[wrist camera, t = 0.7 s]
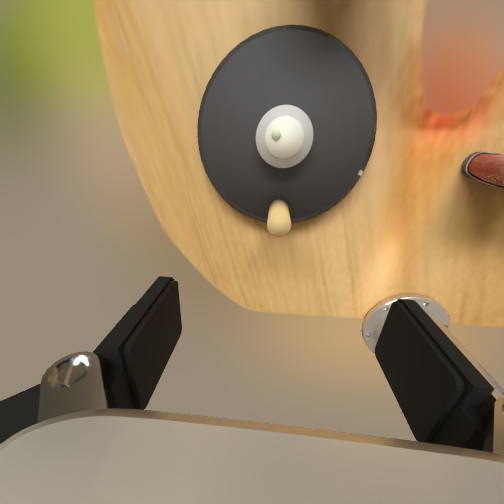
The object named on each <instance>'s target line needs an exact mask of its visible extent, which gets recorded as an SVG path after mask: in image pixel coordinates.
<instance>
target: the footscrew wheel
mask: <svg viewBox="0 0 504 504" xmlns="http://www.w3.org/2000/svg"><path fill="white" fill-rule="evenodd" d="M372 130H373V109H372V101H371V96H370V92H369V88H368V86H367V83H366V81H365V78H364V76H363V74H362V72H361V71H360V69H359V67H358V65H357V64H356V63H355V61H354V60H353V59H352V58H351V56H350V55H349V54H348V53H347V52H346V51H345V50H344V49H342V48H341V47H340V46H339V45H338V44H336V43H334V42H333V41H331V40H330V39H328V38H326V37H324V36H321V35H319V34H317V33H313V32H308V31H304V30H282V31H276V32H272V33H268V34H265V35H263V36H261V37H258V38H256V39H254V40H252V41H251V42H249V43H248V44H246V45H244V46H243V47H242V48H240V49H239V50H238V51H237V52H236V53H235V54H233V55H232V56H231V57H230V59H229V60H228V61H227V62H226V63H225V64H224V65H223V67H222V68H221V70H220V71H219V73H218V74H217V76H216V77H215V79H214V81H213V83H212V85H211V87H210V90H209V92H208V95H207V98H206V101H205V105H204V109H203V115H202V124H201V138H202V147H203V152H204V156H205V160H206V163H207V166H208V169H209V171H210V173H211V175H212V177H213V179H214V181H215V182H216V184H217V185H218V187H219V188H220V190H221V191H222V192H223V193H224V194H225V195H226V197H228V198H229V199H230V200H231V201H232V202H233V203H234V204H236V205H237V206H238V207H240V208H241V209H243V210H245V211H247V212H248V213H250V214H253V215H256V216H258V217H262V218H266V219H268V220H267V229H268V231H269V232H270V233H271V234H272V235H274V236H277V237H280V236H284V235H286V234H287V233H288V232H289V231H290V229H291V220H292V219H299V218H302V217H306V216H309V215H311V214H314V213H316V212H318V211H320V210H322V209H324V208H326V207H327V206H329V205H330V204H331V203H333V202H334V201H335V200H336V199H338V198H339V197H340V196H341V195H342V194H343V193H344V192H345V191H346V190H347V188H348V187H349V186H350V185H351V184H352V182H353V181H354V179H355V178H356V176H357V175H358V173H359V171H360V169H361V168H362V166H363V164H364V161H365V159H366V156H367V154H368V150H369V146H370V143H371V137H372Z"/></svg>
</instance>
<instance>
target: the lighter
mask: <svg viewBox="0 0 504 504" xmlns="http://www.w3.org/2000/svg"><path fill="white" fill-rule="evenodd" d="M461 171H462V173H463V174H464V175H466V176H468V177H469V178H471V179H473V180H475V181H478V182H480V183H483V184H485V185H490V186H495V187H500V188H504V154H499V153H487V152H475V153H472V154H470V155H469V156H467V157H466V158H465V160H464V161H463V163H462V165H461Z"/></svg>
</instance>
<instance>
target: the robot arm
mask: <svg viewBox="0 0 504 504" xmlns="http://www.w3.org/2000/svg"><path fill="white" fill-rule="evenodd" d="M449 329H450V320H449V316H448V314H447V312H446V311H445V309H444V308H443V307H442V306H441V305H440V304H439V303H437V302H436V301H435V300H433V299H431V298H429V297H426V296H422V295H415V294H406V295H399V296H394V297H391V298H389V299H386V300H384V301H382V302H380V303H379V304H377V305H376V306H375V307H373V308H372V309H371V310H370V311H369V313H368V314H367V315H366V317H365V319H364V321H363V324H362V336H363V338H364V341H365V343H366V345H367V346H368V348H369V349H370V350H371V351H372V352H374V353H375V355H376V358H377V360H378V362H379V364H380V366H381V368H382V370H383V372H384V374H385V377H386V379H387V381H388V382H389V385H390V387H391V389H392V391H393V393H394V395H395V397H396V399H397V401H398V403H399V406H400V408H401V409H402V412H403V414H404V416H405V418H406V420H407V422H408V424H409V426H410V428H411V430H412V433H413V435H414V437H415V438H416V440H417V441H418V442H417V441H409V440H401V439H392V438H385V437H376V436H369V435H361V434H352V433H345V432H336V431H327V430H320V429H311V428H303V427H295V426H286V425H277V424H269V423H261V422H252V421H244V420H235V419H226V418H217V417H208V416H200V415H191V414H182V413H171V412H160V411H150V410H144V409H145V407H146V406H147V404H148V402H149V400H150V398H151V396H152V394H153V392H154V390H155V388H156V386H157V383H158V381H159V379H160V377H161V375H162V373H163V371H164V369H165V367H166V365H167V362H168V360H169V358H170V356H171V354H172V352H173V350H174V348H175V346H176V343H177V341H178V339H179V337H180V335H181V331H182V324H181V314H180V303H179V291H178V282H177V281H174V279H173V278H172V277H162V276H160V277H158V278H157V279H156V281H155V282H154V283H153V284H152V286H151V287H150V288H149V289H148V290H147V291H146V293H145V294H144V295H143V296H142V297H141V298H140V300H139V301H138V302H137V303H136V304H135V305H133V306H132V307H131V308H130V310H128V312H127V313H126V314H125V315H124V316H123V318H122V319H121V320H120V321H119V322H118V323H117V324H116V326H115V327H114V328H113V329H112V330H111V332H110V333H109V334H108V335H107V336H106V337H105V339H104V340H103V341H102V342H101V343H100V345H99V346H98V347H97V348H96V349H95V350H94V351H93V352H88V351H84V352H77V353H73V354H70V355H68V356H65V357H63V358H61V359H60V360H58V361H57V362H55V363H54V364H53V365H52V366H51V367H49V368H48V369H47V371H46V372H45V374H44V375H43V377H42V380H41V384H39V385H36V386H34V387H32V388H30V389H27V390H25V391H23V392H20V393H18V394H16V395H14V396H11V397H9V398H7V399H5V400H2V401H0V504H504V389H503V388H502V386H501V385H500V384H499V383H498V382H497V381H496V380H495V379H494V378H493V377H492V376H491V375H490V374H489V373H488V371H487V370H486V369H485V368H484V367H483V366H482V365H481V364H480V363H479V362H478V361H477V360H476V359H475V358H474V357H473V356H472V354H471V353H470V352H469V351H468V350H467V349H466V348H465V347H464V346H463V345H462V344H461V343H460V342H459V341H458V340H457V338H456V337H455V336H454V335H453V334H452V333H451V332H450V331H449Z"/></svg>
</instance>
